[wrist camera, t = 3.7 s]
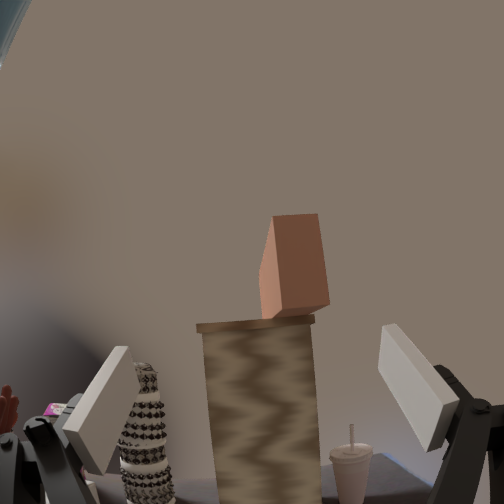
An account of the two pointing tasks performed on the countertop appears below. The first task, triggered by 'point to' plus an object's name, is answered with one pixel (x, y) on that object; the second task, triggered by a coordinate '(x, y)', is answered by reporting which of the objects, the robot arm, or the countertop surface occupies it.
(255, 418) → the stand
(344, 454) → the smoothie
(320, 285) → the block
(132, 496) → the decorative candle
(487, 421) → the robot arm
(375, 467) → the countertop surface
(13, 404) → the bucket of meat
